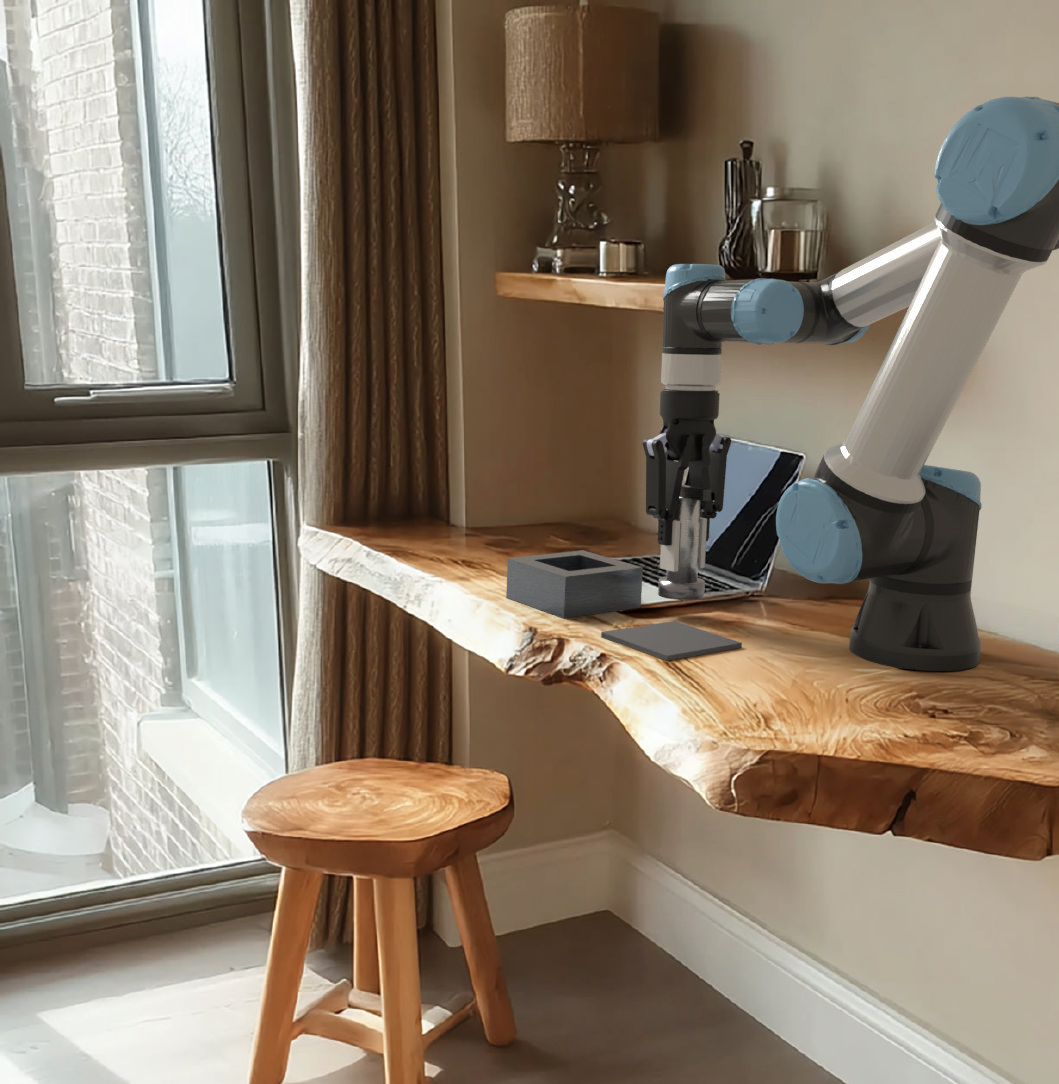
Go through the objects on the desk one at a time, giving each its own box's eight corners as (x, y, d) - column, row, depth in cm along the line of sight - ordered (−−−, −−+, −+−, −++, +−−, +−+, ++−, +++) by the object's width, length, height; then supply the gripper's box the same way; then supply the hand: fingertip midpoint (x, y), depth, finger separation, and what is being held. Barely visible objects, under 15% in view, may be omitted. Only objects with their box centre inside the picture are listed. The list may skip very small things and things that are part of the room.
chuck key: (719, 598, 168) (724, 488, 166) (684, 603, 165) (689, 491, 162) (677, 587, 175) (682, 481, 172) (643, 592, 171) (647, 483, 169)
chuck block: (640, 607, 174) (642, 567, 173) (563, 618, 167) (565, 576, 166) (581, 588, 184) (582, 550, 183) (506, 597, 177) (507, 558, 176)
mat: (741, 647, 156) (741, 642, 156) (666, 660, 149) (667, 655, 149) (674, 625, 165) (674, 620, 165) (601, 636, 158) (601, 632, 158)
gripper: (718, 385, 173) (709, 557, 177) (619, 387, 163) (613, 569, 167) (758, 388, 167) (749, 566, 171) (659, 390, 157) (652, 579, 161)
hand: (682, 567), depth 169 cm, fingers closed on chuck key, 4 cm apart
